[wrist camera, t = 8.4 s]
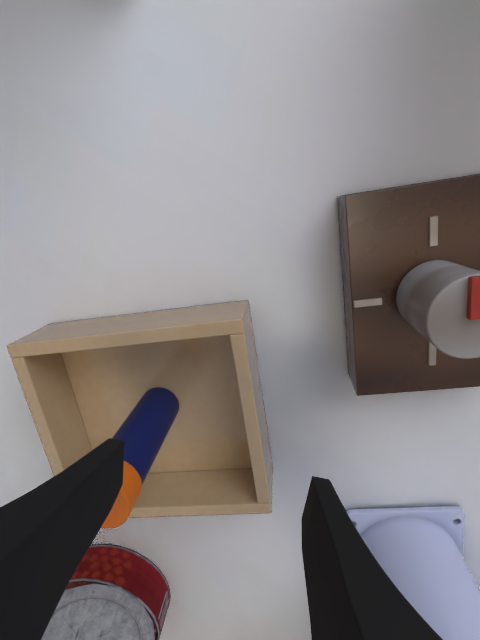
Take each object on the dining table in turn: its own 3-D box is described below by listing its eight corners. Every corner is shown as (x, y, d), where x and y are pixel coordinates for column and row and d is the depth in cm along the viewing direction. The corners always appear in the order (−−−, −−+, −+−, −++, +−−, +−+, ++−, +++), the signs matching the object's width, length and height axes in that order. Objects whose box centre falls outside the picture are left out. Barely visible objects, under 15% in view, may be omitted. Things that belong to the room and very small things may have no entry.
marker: (184, 420, 24) (136, 528, 16) (145, 423, 24) (79, 530, 16) (176, 383, 23) (121, 477, 15) (136, 387, 23) (61, 480, 15)
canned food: (89, 516, 35) (3, 566, 25) (185, 531, 33) (129, 592, 23) (74, 646, 33) (-26, 754, 23) (174, 671, 31) (109, 802, 21)
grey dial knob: (469, 324, 18) (524, 358, 14) (396, 331, 19) (428, 366, 15) (471, 255, 17) (532, 269, 13) (394, 264, 18) (429, 281, 14)
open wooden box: (273, 467, 25) (272, 513, 21) (98, 476, 27) (69, 520, 23) (248, 299, 22) (241, 319, 18) (49, 323, 24) (5, 345, 20)
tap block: (484, 364, 21) (511, 385, 19) (348, 376, 22) (357, 397, 20) (495, 171, 18) (530, 165, 16) (337, 196, 19) (345, 194, 17)
